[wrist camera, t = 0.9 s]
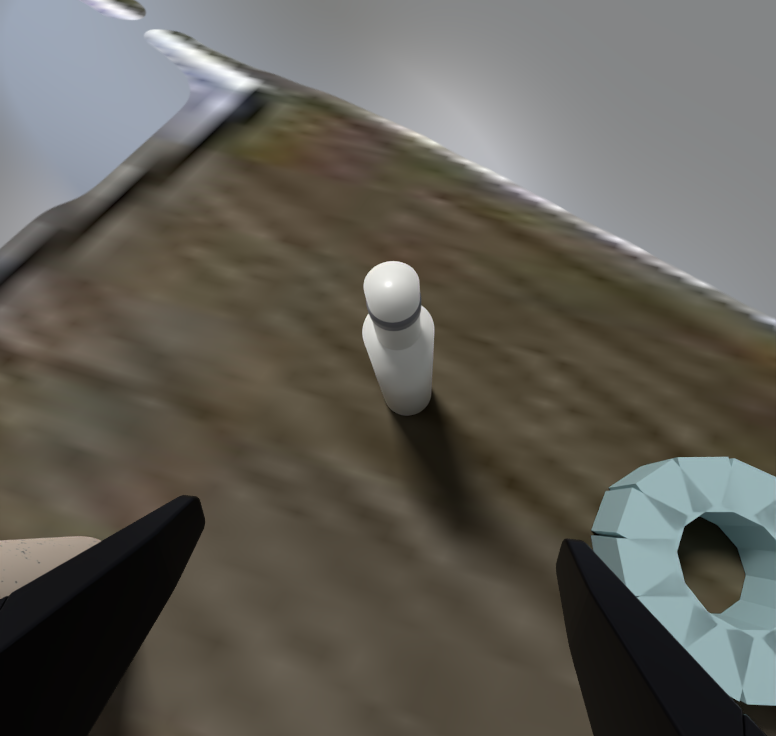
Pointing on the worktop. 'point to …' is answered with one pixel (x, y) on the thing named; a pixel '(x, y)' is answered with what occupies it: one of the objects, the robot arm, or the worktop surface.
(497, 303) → the worktop surface
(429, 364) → the white rounded peg
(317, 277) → the worktop surface
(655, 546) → the pale blue segmented ring
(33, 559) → the teacup with lid
